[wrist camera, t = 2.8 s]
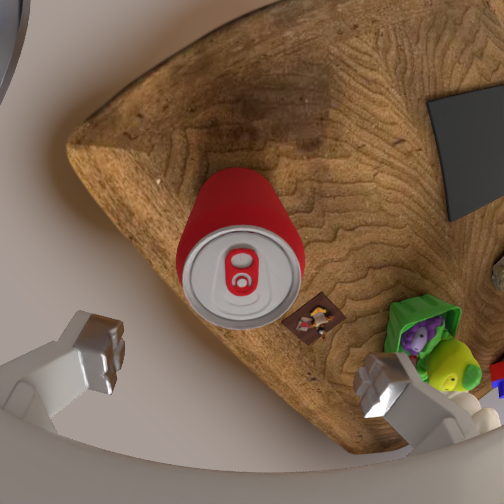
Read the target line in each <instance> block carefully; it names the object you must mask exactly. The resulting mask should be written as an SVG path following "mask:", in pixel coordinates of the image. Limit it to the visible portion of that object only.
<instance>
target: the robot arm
mask: <svg viewBox="0 0 504 504" xmlns="http://www.w3.org/2000/svg"><path fill="white" fill-rule="evenodd" d="M123 332H124V326H123V322H122V321H120V320H115V319H112V318H108V317H104V316H100V315H96V314H92V313H88V312H84V311H81V310H79V311H77V312H76V313H75V315H74V316H73V318H72V319H71V321H70V322H69V324H68V326H67V327H66V329H65V330H64V332H63V333H62V335H61V337H60V338H59V340H58V341H57V342H55V341H52V342H49V343H47V344H45V345H43V346H41V347H39V348H37V349H35V350H33V351H30V352H28V353H26V354H24V355H22V356H20V357H18V358H16V359H14V360H12V361H10V362H7V363H5V364H3V365H1V366H0V504H504V425H502V426H500V427H498V428H495V429H493V430H491V431H488V432H486V433H483V434H481V433H480V432H479V430H478V428H477V426H476V425H475V423H474V421H473V419H472V417H471V416H470V414H469V412H468V411H466V410H465V409H463V408H462V407H461V406H459V405H458V404H456V403H455V402H454V401H452V400H451V399H449V398H448V397H447V396H445V395H444V394H442V393H441V392H439V391H438V390H437V389H435V388H434V387H432V386H431V385H430V384H428V383H427V382H423V381H422V379H421V377H420V376H419V374H418V372H417V371H416V369H415V367H414V366H413V364H412V362H411V361H410V359H409V357H408V356H407V354H405V353H404V352H401V353H371V352H370V353H369V354H367V355H366V357H365V358H364V360H363V362H364V366H362V367H361V368H359V369H358V370H357V372H356V374H355V376H354V381H353V386H354V391H355V394H356V395H357V396H359V397H360V398H361V400H360V403H359V404H360V407H361V410H362V412H363V415H364V418H365V417H382V416H384V418H385V419H386V420H387V421H388V423H389V424H390V425H391V426H392V427H393V428H394V429H395V430H396V431H397V432H398V433H399V434H400V435H401V436H402V437H403V438H404V439H405V440H406V441H407V442H408V443H409V444H410V445H411V446H412V447H413V448H414V449H413V450H412V451H411V452H410V453H409V454H408V455H407V456H406V458H402V459H397V460H392V461H388V462H382V463H377V464H371V465H365V466H358V467H351V468H343V469H335V470H323V471H309V472H286V473H255V472H254V473H253V472H233V471H218V470H207V469H199V468H191V467H183V466H177V465H171V464H165V463H159V462H154V461H149V460H144V459H140V458H135V457H131V456H127V455H122V454H119V453H115V452H111V451H107V450H103V449H100V448H97V447H94V446H90V445H87V444H84V443H81V442H78V441H75V440H72V439H70V438H67V437H64V436H61V435H59V434H58V433H57V431H56V429H55V427H54V425H53V423H52V422H51V420H50V418H51V417H52V416H54V415H55V414H56V413H58V412H59V411H60V410H62V409H63V408H64V407H65V406H67V405H68V404H69V403H71V402H72V401H73V400H75V399H76V398H77V397H78V396H80V395H81V394H82V393H84V392H85V391H86V389H90V390H94V391H98V392H101V393H106V394H110V395H112V392H113V389H114V386H115V384H116V381H117V376H116V372H117V371H119V370H120V369H121V367H122V364H123V360H124V354H125V342H124V340H123V339H122V338H121V337H122V335H123Z"/></svg>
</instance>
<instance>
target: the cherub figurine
mask: <svg viewBox="0 0 504 504" xmlns="http://www.w3.org/2000/svg"><path fill="white" fill-rule="evenodd" d="M438 391H439V392H441V393H442V394H444V395H445V396H447V397H448V398H449V399H451V400H452V401H454V402H455V403H456V404H458V405H459V406H461V407H462V408H463V409H465V410H466V411H468V412H469V414H470V416H471V417H472V419H473V421H474V423H475V425H476V426H477V428H478V430H479V432H480V433H481V434H483V433H486V432H488V431H491V430H493V429H495V428H498V427H500V426H501V423H500V419H499V416H498V414H497V412H496V411H495V410H494V409H492V408H491V409H490V408H483V409H481V406H480V403H479V401H478V400H477V398H476V397H475V396H473V395H472V394H470V393H468V391H464V392H458V391H440V390H438Z"/></svg>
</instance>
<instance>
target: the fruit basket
mask: <svg viewBox="0 0 504 504" xmlns="http://www.w3.org/2000/svg"><path fill="white" fill-rule="evenodd" d="M389 316H390V318H389V321H388V325H387V336H386V338H385V344H384V349H385V350H384V352H383V353H401V352H404V353H405V354H407V356H408V357H409V359H410V361H411V362H412V364H413V366H414V367H415V369H416V371H417V372H418V374H419V376H420V377H421V379H422V381H423V382H427V383H428V384H430V385H431V386H432V387H434V388H435V389H437V390H440V391H458V392H464V391H468V390H472V389H473V388H474V387H475V386H476V385H479V383H480V381H481V376H482V371H481V369H480V366H479V364H478V362H477V361H476V360H475V359H474V357H473V355H472V353H471V351H470V349H469V348H468V347H467V346H466V345H465V344H464V343H463V342H461V341H459V340H454V337H455V334H456V330H457V327H458V323H459V320H460V316H461V308H460V307H457V306H455V305H450V304H448V303H446V302H444V301H442V300H440V299H438V298H436V297H434V296H432V295H430V294H425V295H423V296H421V297H414V298H410V299H406V300H403V301H401V302H400V303H398V302H394V303H391V305H390V310H389Z"/></svg>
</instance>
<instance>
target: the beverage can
mask: <svg viewBox="0 0 504 504" xmlns="http://www.w3.org/2000/svg"><path fill="white" fill-rule="evenodd" d="M304 267H305V253H304V247H303V244H302V241H301V238H300V236H299V234H298V232H297V231H296V229H295V227H294V225H293V223H292V221H291V219H290V218H289V216H288V214H287V212H286V210H285V209H284V207H283V205H282V203H281V201H280V200H279V198H278V196H277V194H276V193H275V191H274V189H273V187H272V186H271V184H270V183H269V182H268V180H267V179H266V178H265V177H263V176H262V175H261V174H259V173H258V172H256V171H253V170H251V169H248V168H242V167H233V168H227V169H224V170H221V171H219V172H217V173H215V174H214V175H212V176H211V177H210V178H209V179H208V180H207V181H206V182H205V183H204V184H203V186H202V187H201V189H200V191H199V194H198V196H197V199H196V201H195V204H194V206H193V209H192V211H191V214H190V216H189V219H188V221H187V224H186V226H185V229H184V232H183V234H182V237H181V239H180V242H179V245H178V248H177V254H176V269H177V274H178V278H179V281H180V283H181V286H182V288H183V290H184V293H185V296H186V298H187V300H188V302H189V304H190V305H191V307H192V308H193V309H194V310H195V311H196V312H197V314H199V315H200V316H201V317H203V318H204V319H205V320H207V321H209V322H210V323H212V324H214V325H217V326H220V327H223V328H228V329H235V330H245V329H253V328H258V327H262V326H264V325H267V324H269V323H271V322H273V321H275V320H276V319H278V318H279V317H281V316H282V315H283V314H284V313H285V312H286V311H287V310H288V309H289V308H290V307H291V305H292V304H293V303H294V301H295V299H296V297H297V295H298V292H299V289H300V284H301V280H302V277H303V273H304Z"/></svg>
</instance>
